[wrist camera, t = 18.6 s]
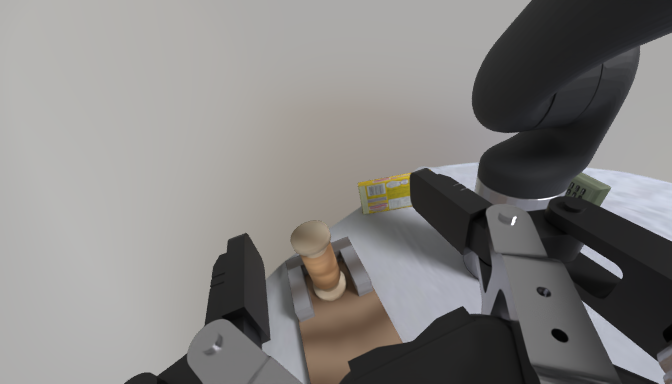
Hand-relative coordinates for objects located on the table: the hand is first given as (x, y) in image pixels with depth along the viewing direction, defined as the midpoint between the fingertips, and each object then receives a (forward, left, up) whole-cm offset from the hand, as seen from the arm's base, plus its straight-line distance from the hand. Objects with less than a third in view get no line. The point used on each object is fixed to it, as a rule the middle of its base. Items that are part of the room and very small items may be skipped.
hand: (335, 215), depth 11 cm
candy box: (-36, -8, -30) cm, 47 cm away
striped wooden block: (-6, -8, -30) cm, 31 cm away
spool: (-11, -13, -29) cm, 33 cm away
